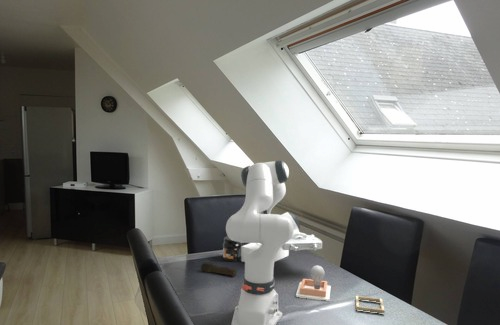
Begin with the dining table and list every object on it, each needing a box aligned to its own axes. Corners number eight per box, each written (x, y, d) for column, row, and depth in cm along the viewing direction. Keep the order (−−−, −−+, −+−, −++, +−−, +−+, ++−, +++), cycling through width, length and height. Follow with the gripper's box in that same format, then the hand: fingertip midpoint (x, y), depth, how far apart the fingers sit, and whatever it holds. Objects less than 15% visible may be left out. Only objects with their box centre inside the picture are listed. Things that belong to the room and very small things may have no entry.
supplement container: (218, 259, 196) (219, 238, 195) (230, 254, 205) (230, 234, 204) (233, 263, 190) (234, 241, 189) (245, 258, 199) (245, 237, 198)
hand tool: (237, 275, 175) (237, 266, 174) (233, 278, 171) (233, 268, 171) (204, 269, 183) (204, 260, 182) (200, 271, 179) (200, 262, 179)
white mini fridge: (241, 261, 194) (241, 242, 193) (268, 250, 213) (269, 233, 212) (261, 268, 185) (262, 247, 184) (288, 256, 204) (289, 237, 203)
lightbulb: (314, 285, 160) (315, 262, 159) (326, 290, 156) (327, 265, 155) (307, 289, 156) (308, 265, 155) (319, 294, 152) (320, 269, 151)
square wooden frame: (384, 315, 137) (384, 310, 136) (356, 311, 139) (356, 306, 139) (381, 303, 147) (382, 298, 146) (355, 299, 149) (355, 295, 149)
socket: (329, 301, 147) (329, 293, 147) (295, 297, 151) (295, 289, 151) (330, 287, 161) (330, 280, 160) (300, 284, 164) (300, 276, 164)
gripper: (277, 235, 178) (284, 243, 164) (316, 234, 181) (326, 241, 168) (277, 247, 178) (284, 256, 165) (316, 246, 182) (326, 254, 168)
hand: (306, 249), depth 166 cm, fingers open, 8 cm apart
